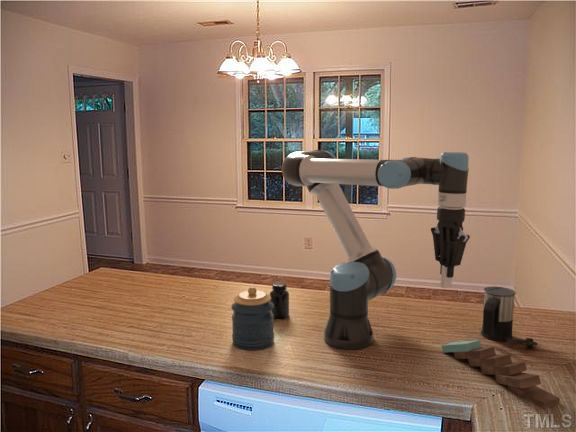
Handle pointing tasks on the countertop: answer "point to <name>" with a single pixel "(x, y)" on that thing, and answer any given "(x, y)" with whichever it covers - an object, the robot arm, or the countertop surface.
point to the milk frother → (500, 315)
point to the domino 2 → (476, 353)
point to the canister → (252, 320)
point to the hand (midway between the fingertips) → (445, 286)
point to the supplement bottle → (280, 300)
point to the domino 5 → (519, 380)
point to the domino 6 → (536, 396)
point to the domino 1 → (461, 346)
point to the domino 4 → (505, 369)
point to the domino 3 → (491, 360)
